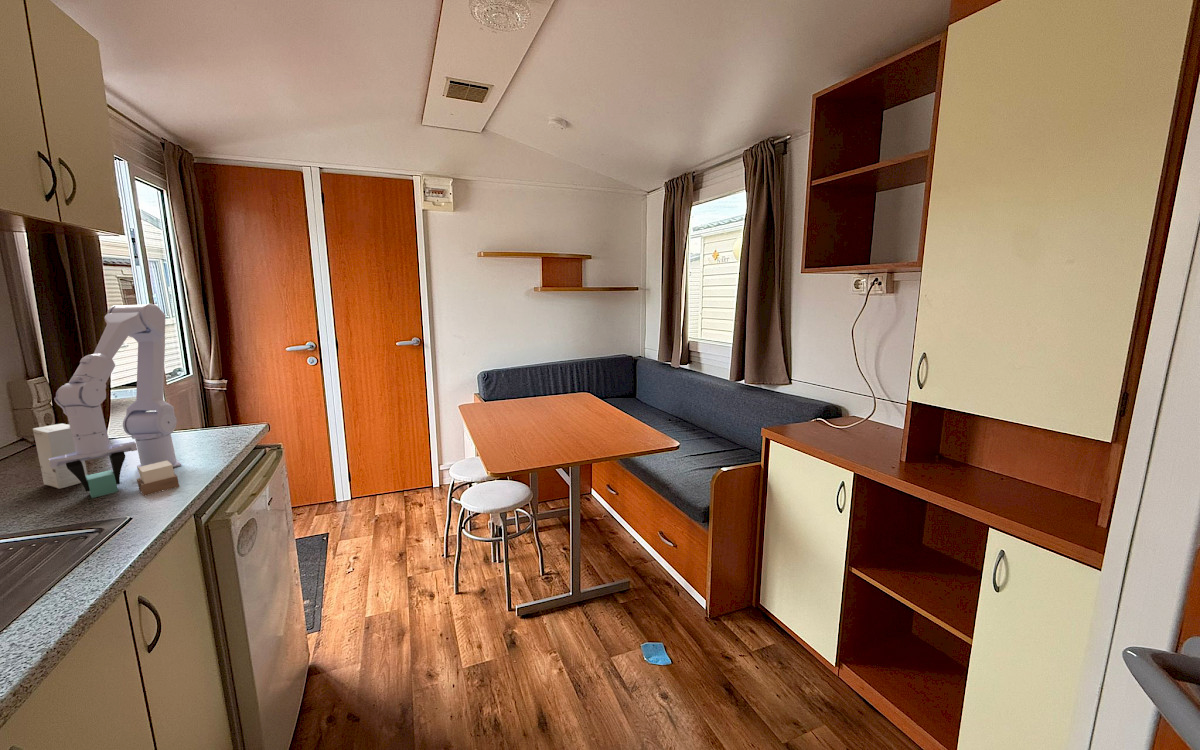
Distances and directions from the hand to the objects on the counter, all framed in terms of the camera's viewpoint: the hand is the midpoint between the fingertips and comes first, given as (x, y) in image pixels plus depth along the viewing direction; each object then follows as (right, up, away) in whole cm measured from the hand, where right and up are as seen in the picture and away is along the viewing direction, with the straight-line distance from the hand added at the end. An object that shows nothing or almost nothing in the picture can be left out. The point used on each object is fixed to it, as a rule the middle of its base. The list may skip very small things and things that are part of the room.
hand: (102, 486), depth 119 cm
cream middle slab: (+12, +2, +1) cm, 12 cm away
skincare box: (-16, -1, +7) cm, 18 cm away
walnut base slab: (+12, -1, +2) cm, 12 cm away
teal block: (0, -1, 0) cm, 1 cm away
